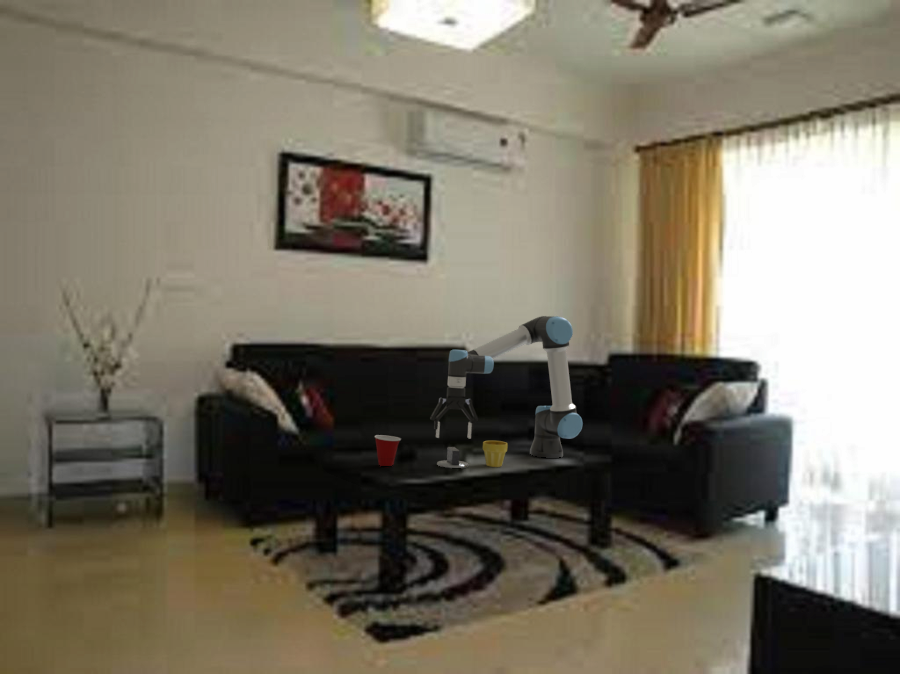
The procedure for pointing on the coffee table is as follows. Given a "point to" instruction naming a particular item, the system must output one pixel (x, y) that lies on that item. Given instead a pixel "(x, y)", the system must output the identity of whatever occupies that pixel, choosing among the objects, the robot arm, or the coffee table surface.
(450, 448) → the steel lid
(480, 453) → the coffee table surface
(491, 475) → the coffee table surface
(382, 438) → the plastic cup
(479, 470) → the coffee table surface
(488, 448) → the plant pot
